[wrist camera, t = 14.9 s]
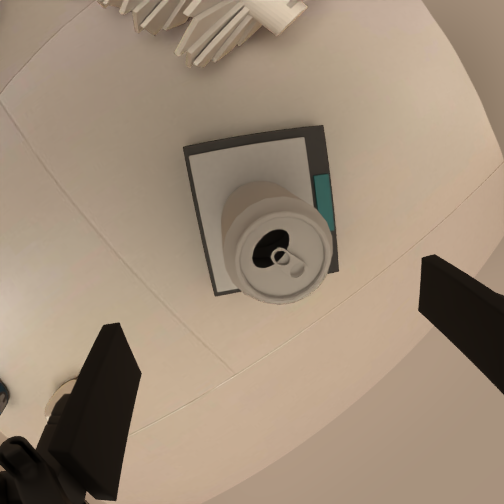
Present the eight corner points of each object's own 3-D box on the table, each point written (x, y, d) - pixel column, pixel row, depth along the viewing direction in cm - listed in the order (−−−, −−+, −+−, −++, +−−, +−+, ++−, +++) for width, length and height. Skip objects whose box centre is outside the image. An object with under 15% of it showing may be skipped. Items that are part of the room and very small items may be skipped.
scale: (185, 146, 32) (181, 146, 28) (314, 126, 33) (327, 124, 29) (214, 285, 37) (214, 301, 33) (330, 262, 38) (342, 275, 34)
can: (254, 163, 29) (277, 174, 18) (312, 212, 31) (363, 250, 20) (204, 225, 31) (198, 273, 19) (264, 269, 33) (289, 333, 21)
